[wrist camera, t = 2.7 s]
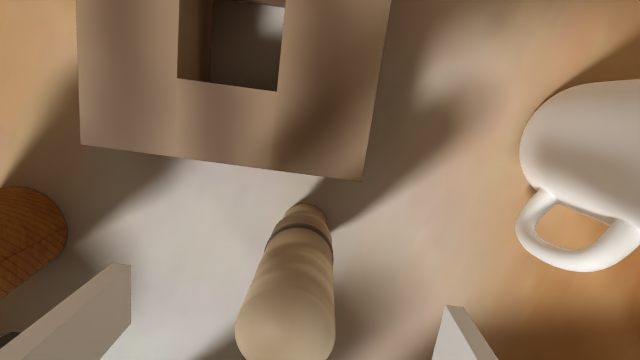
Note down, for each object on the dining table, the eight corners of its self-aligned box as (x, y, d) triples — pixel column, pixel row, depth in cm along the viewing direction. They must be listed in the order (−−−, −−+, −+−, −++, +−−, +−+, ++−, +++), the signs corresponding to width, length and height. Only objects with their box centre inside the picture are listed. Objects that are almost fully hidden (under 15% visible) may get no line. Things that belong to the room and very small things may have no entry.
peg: (335, 203, 24) (344, 294, 13) (327, 253, 25) (329, 383, 14) (280, 195, 24) (237, 281, 13) (274, 247, 25) (230, 371, 13)
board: (388, -54, 20) (408, -104, 16) (354, 165, 24) (361, 181, 19) (132, -91, 20) (70, -152, 15) (131, 136, 23) (80, 144, 19)
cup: (660, 141, 23) (915, 169, 13) (525, 257, 25) (655, 358, 15) (586, 56, 22) (803, 16, 12) (451, 186, 24) (539, 244, 14)
